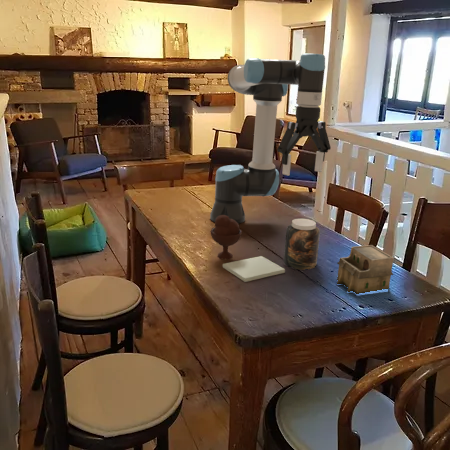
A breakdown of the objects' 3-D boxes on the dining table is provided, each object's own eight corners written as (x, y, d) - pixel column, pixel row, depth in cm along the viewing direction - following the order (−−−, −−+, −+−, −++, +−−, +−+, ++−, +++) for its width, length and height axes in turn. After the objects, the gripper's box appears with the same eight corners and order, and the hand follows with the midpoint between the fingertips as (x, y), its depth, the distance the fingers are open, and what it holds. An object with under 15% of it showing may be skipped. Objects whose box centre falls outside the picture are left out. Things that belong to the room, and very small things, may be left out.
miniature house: (367, 274, 166) (372, 242, 162) (394, 292, 153) (399, 258, 149) (328, 278, 161) (332, 245, 157) (352, 297, 148) (357, 262, 145)
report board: (261, 259, 174) (261, 255, 173) (284, 272, 163) (284, 269, 163) (222, 267, 165) (222, 263, 165) (244, 281, 155) (245, 278, 155)
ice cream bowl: (218, 264, 168) (220, 222, 163) (204, 252, 177) (206, 212, 172) (246, 259, 173) (248, 218, 168) (230, 248, 182) (232, 209, 177)
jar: (276, 258, 175) (280, 218, 170) (305, 255, 179) (309, 215, 174) (294, 271, 164) (298, 229, 160) (323, 267, 169) (328, 226, 164)
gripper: (284, 107, 145) (279, 178, 151) (346, 106, 157) (338, 172, 164) (269, 105, 151) (264, 173, 157) (329, 104, 163) (323, 168, 170)
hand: (302, 173), depth 161 cm, fingers open, 13 cm apart
